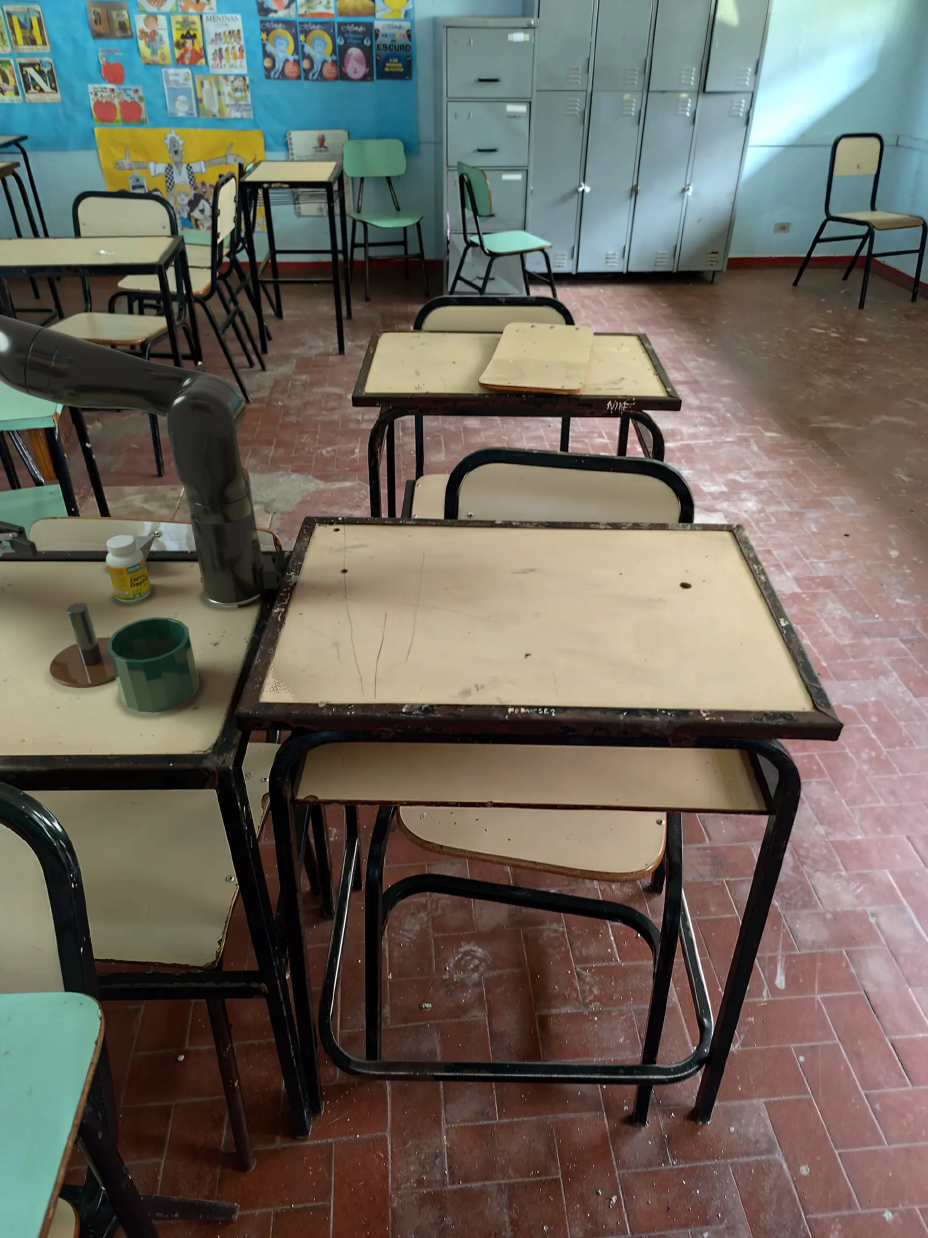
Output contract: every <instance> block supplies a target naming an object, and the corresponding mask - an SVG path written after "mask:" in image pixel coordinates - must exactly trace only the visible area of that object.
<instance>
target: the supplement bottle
mask: <svg viewBox="0 0 928 1238" xmlns="http://www.w3.org/2000/svg"><path fill="white" fill-rule="evenodd" d="M134 537H135V536H132V535H130V534H119V535H116V536H112V537H110V538H109V539H108V540H107V541H106V548H107V551H108V553H107V555H106V558H105V563H106V567H107V570H108V575H109V578H110V581H111V584H112V589H113V592H114V595H115V598H116V599H117V600H119V601H121V602H135V601H139V600H143V599H145V598H146V597H148V596H149V595H150V594H151V592H152V587H151V582H150V577H149V574H148V570H147V565H146V562H145V560H144V556H143V553H142V551H141V550H140V549H138V548H136V542H135V539H134Z"/></svg>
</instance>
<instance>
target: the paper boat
mask: <svg viewBox="0 0 928 1238" xmlns="http://www.w3.org/2000/svg"><path fill="white" fill-rule="evenodd" d="M156 536H157V534H154V530H151V532H149V533H148V534H147V535H142V536H141V535H140V536H133V537H134V539H135V542H136V548H138V549H140V550H141V551H142V553H143V556H144V560H145V563H146V562H147V560H148V557H149V554H150V552H151V549H152V546H153V544H154V541H155V538H156Z"/></svg>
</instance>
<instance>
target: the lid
mask: <svg viewBox="0 0 928 1238" xmlns="http://www.w3.org/2000/svg"><path fill="white" fill-rule="evenodd" d="M66 613H67V617H68V620H69V625H70V627H71V630H72V634H73V637H74V641H75V643H74V644H71V645H69V646H67V647H65V648H64V649H62V650H61V651H60V652H58V653H57V654H56V655H55V656H54V658H53V659H52V660H51V662H50V665H49V673H50V676H51V678H52V679H53V680H54V681H55V683H57V684H60V685H62V686H65V687H69V688H88V687H94V686H99V685H103V684H106V683H109V682H110V681H113V680H116V678H115V674H114V671H113V667H112V664H111V660H110V656H109V653H108V641H109V639H110V638H111V637H104V636H103V637H97V634H96V630H95V627H94V623H93V619H92V616H91V612H90V608H89V606H88V604H86V603H85V602H77V603H73V604H70V605H69V606H68V607H67V608H66Z"/></svg>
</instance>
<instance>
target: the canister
mask: <svg viewBox="0 0 928 1238" xmlns="http://www.w3.org/2000/svg"><path fill="white" fill-rule="evenodd" d="M109 638H110V639H109V641H108V653H109V656H110V660H111V664H112V667H113V671H114V674H115V682H116V686H117V689H118V693H119V696H120V700H121V701H122V702H123V704H124V705H125V706H126V707H127V708H129V709H132V710H134V711H136V712H140V713H141V712H142V713H159V712H163V711H169V710H172V709H174V708H176V707H178V706H181V705H183V704H185V703H186V702H188V700H191V698H193V696H195V694H196V692H197V691H198V689H199V687H200V679H199V678H200V677H199V673H198V668H197V662H196V658H195V654H194V648H193V645H192V644H193V643H192V639H191V634H190V629H189V627H188V626H187V625H186V624H185V623H183V622H182V621H181V620H178V619H175V618H172V617H162V616H161V617H160V616H154V617H147V618H141V619H138V620H136V621H133V622H129V623H127V624H125V625H123V626H122V627H120V628H119V629H118V630H116V631H115V632H113V633H112V635H111V636H110V637H109Z"/></svg>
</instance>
